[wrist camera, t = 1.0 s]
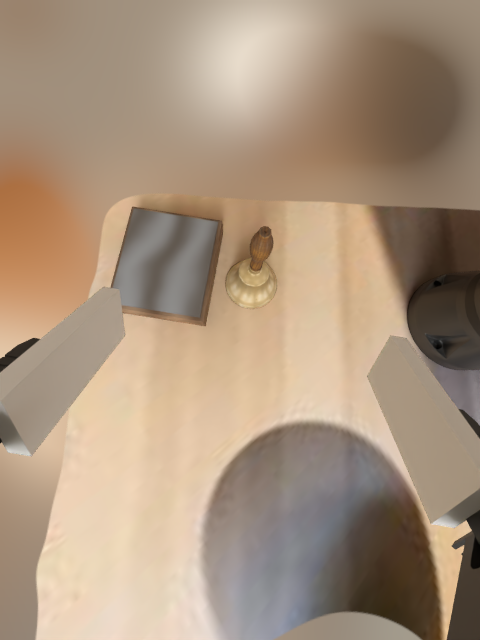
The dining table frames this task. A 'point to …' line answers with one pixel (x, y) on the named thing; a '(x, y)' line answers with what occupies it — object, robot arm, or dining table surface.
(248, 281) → the hand bell
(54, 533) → the dining table surface
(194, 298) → the walnut stand
